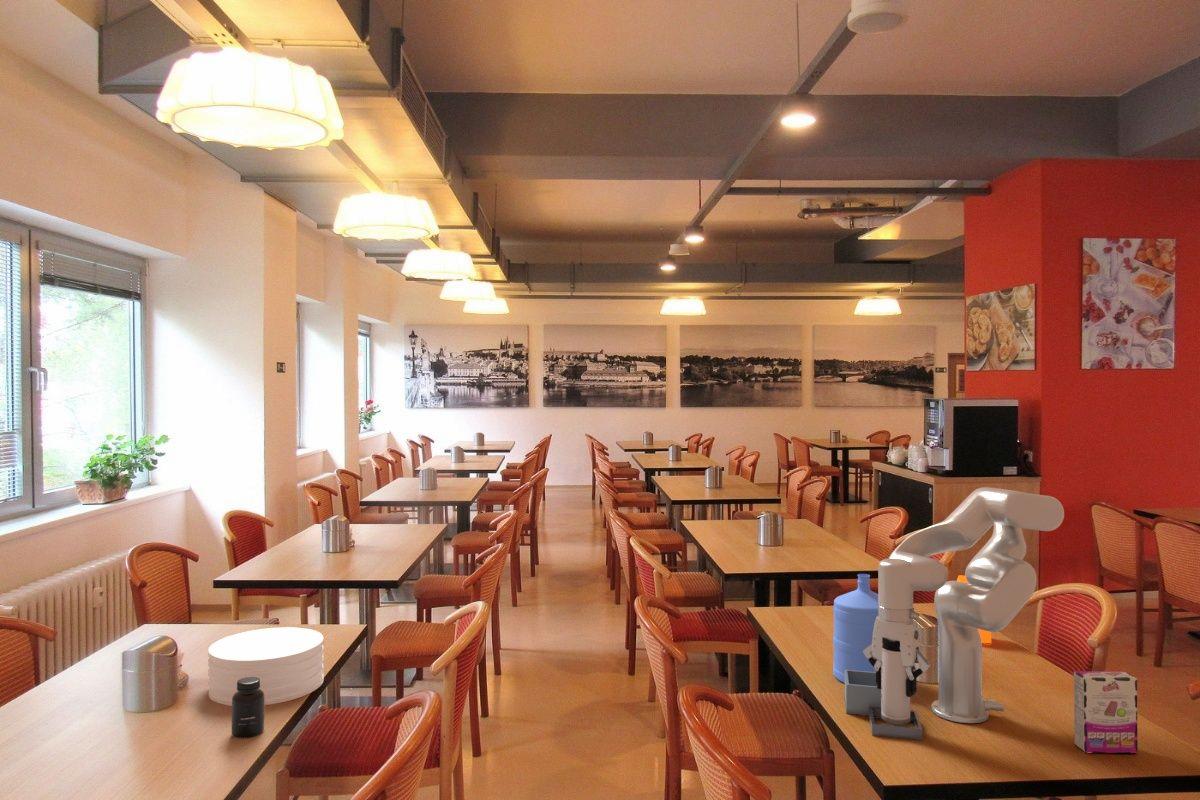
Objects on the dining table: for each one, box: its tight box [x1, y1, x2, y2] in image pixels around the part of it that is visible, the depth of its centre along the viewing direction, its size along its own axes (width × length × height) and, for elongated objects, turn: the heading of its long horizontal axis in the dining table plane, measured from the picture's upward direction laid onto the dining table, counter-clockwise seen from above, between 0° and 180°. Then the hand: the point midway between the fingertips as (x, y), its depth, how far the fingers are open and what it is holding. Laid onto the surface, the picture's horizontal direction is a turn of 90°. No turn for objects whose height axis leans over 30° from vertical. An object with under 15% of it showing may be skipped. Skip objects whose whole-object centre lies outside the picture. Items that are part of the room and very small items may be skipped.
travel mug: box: [881, 637, 911, 726], centre depth 187 cm, size 6×7×20 cm
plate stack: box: [207, 626, 325, 707], centre depth 214 cm, size 28×28×12 cm
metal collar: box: [868, 707, 923, 741], centre depth 187 cm, size 11×11×2 cm
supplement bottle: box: [231, 677, 265, 739], centre depth 184 cm, size 7×7×12 cm
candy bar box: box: [1073, 670, 1139, 753], centre depth 176 cm, size 11×5×16 cm, turn 87°
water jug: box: [832, 573, 878, 684], centre depth 219 cm, size 16×16×28 cm
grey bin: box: [844, 670, 881, 717], centre depth 199 cm, size 11×11×7 cm
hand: (895, 690), depth 187 cm, fingers closed on travel mug, 6 cm apart
